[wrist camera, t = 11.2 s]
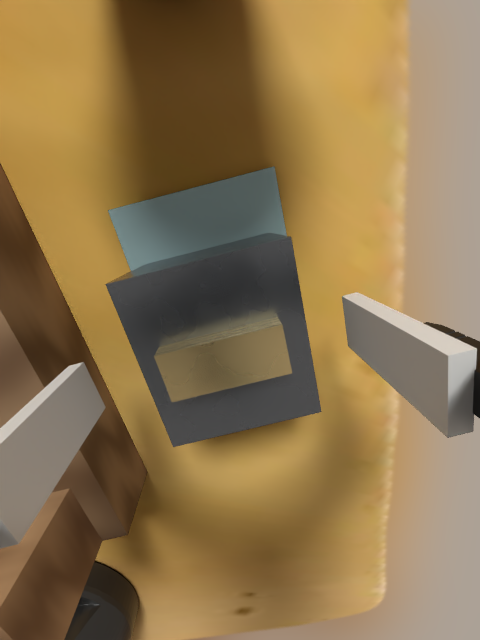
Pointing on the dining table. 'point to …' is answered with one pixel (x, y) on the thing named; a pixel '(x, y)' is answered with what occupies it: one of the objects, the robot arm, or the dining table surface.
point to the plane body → (86, 467)
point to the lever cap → (221, 337)
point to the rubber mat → (199, 218)
